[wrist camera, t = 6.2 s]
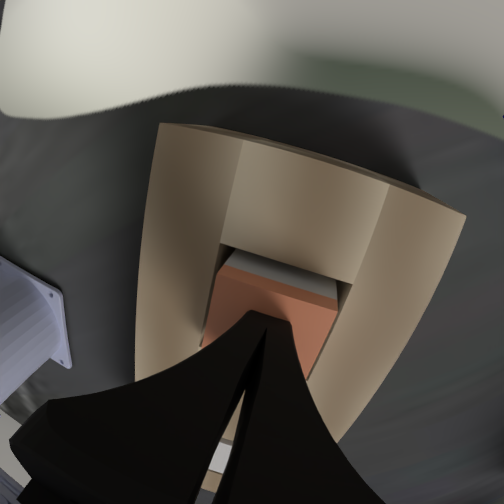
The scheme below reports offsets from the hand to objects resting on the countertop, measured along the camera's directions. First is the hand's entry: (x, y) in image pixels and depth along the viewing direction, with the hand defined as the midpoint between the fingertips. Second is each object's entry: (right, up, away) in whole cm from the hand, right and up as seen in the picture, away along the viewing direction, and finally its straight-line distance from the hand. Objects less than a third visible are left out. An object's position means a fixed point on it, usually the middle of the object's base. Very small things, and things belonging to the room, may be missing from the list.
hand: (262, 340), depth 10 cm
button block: (0, -2, +8) cm, 8 cm away
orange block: (+1, +2, +4) cm, 5 cm away
